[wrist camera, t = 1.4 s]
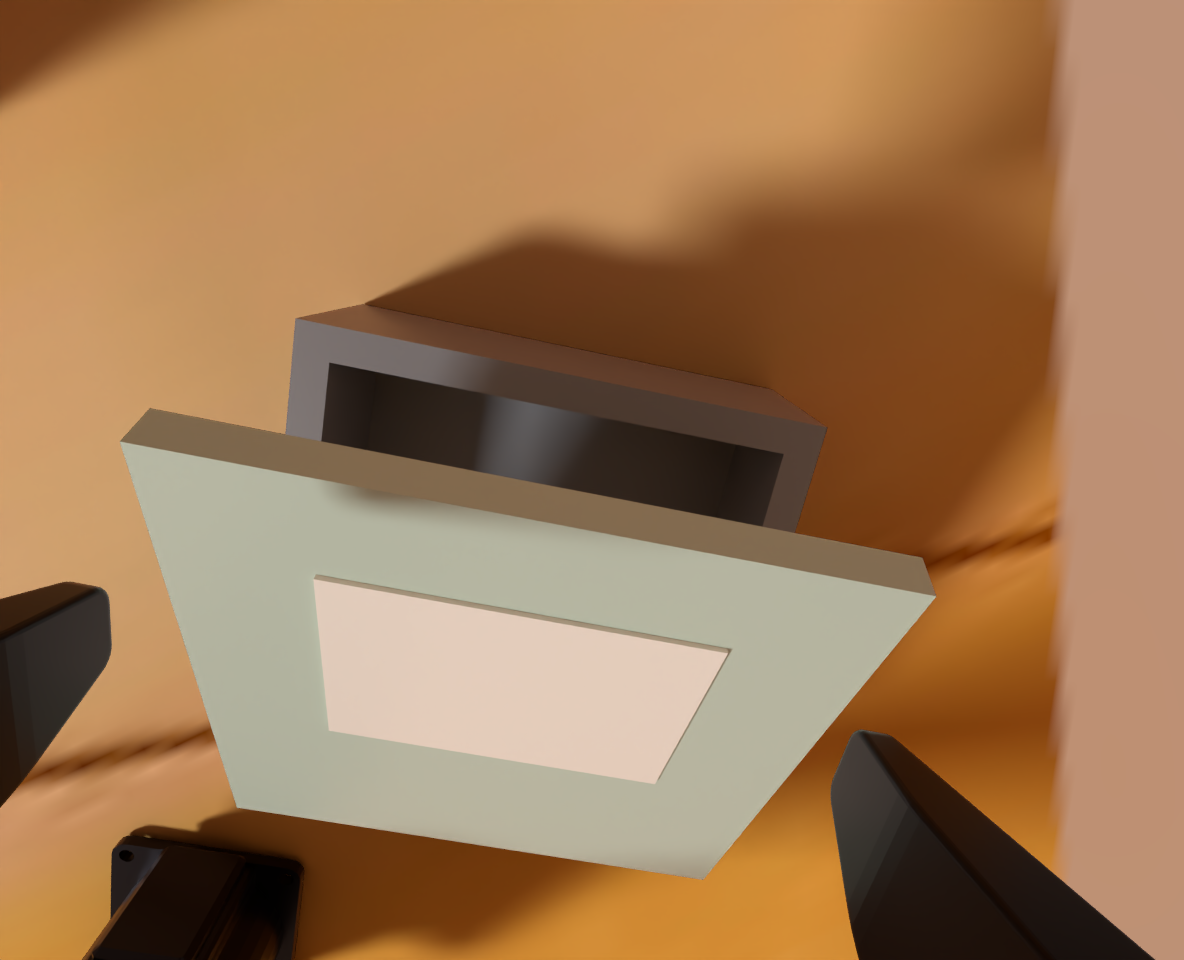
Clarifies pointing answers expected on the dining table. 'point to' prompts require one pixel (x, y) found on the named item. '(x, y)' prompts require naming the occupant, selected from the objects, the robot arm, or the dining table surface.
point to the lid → (501, 645)
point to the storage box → (551, 415)
